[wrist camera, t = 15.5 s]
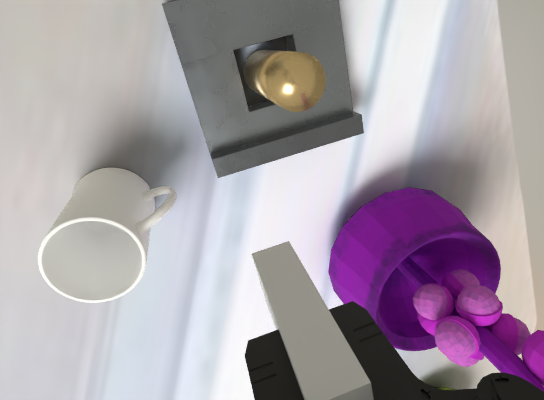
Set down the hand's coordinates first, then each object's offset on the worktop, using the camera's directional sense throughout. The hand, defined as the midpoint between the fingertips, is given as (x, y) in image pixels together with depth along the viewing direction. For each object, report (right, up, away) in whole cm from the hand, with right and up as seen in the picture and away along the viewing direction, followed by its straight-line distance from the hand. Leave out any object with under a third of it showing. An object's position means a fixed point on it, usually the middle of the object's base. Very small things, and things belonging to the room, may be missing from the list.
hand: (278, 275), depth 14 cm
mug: (-16, +3, +26) cm, 31 cm away
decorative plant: (+15, -3, +37) cm, 40 cm away
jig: (-1, +17, +24) cm, 30 cm away
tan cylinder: (-1, +16, +25) cm, 30 cm away
